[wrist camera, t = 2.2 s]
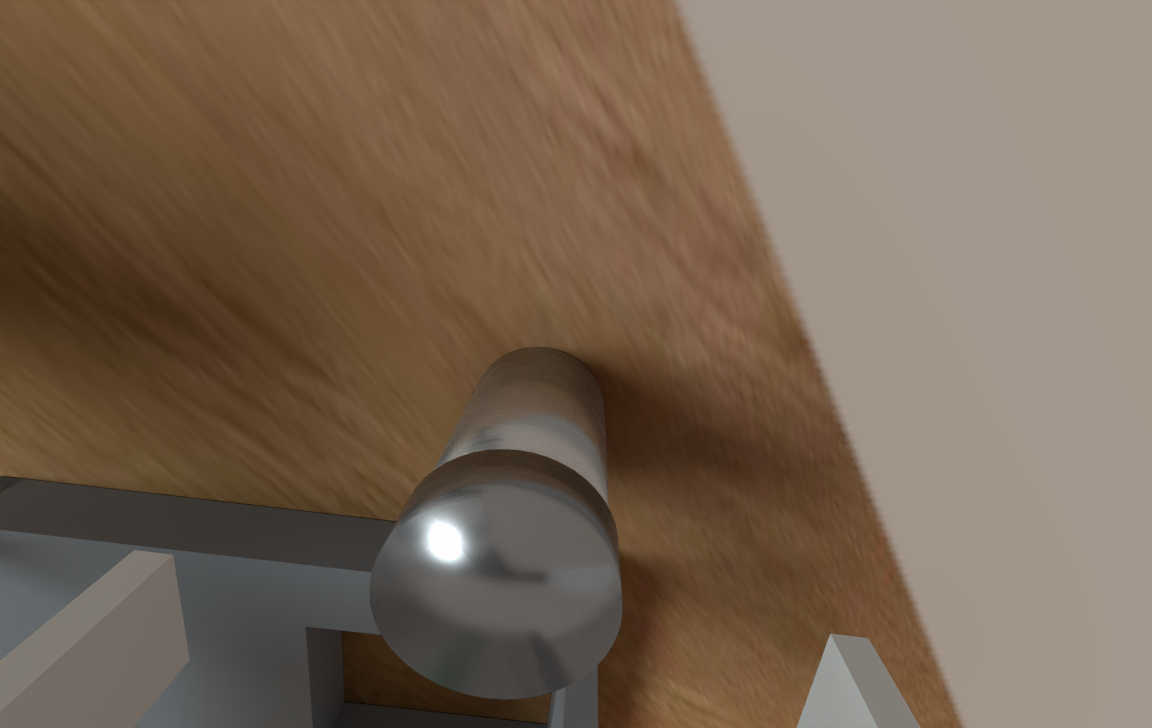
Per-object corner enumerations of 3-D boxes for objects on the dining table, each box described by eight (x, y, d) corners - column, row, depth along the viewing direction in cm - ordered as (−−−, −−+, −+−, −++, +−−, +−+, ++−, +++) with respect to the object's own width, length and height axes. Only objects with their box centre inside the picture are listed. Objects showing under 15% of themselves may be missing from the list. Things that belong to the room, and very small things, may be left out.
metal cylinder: (473, 333, 20) (367, 484, 11) (619, 351, 20) (641, 516, 11) (466, 461, 22) (370, 684, 13) (599, 477, 22) (604, 711, 13)
